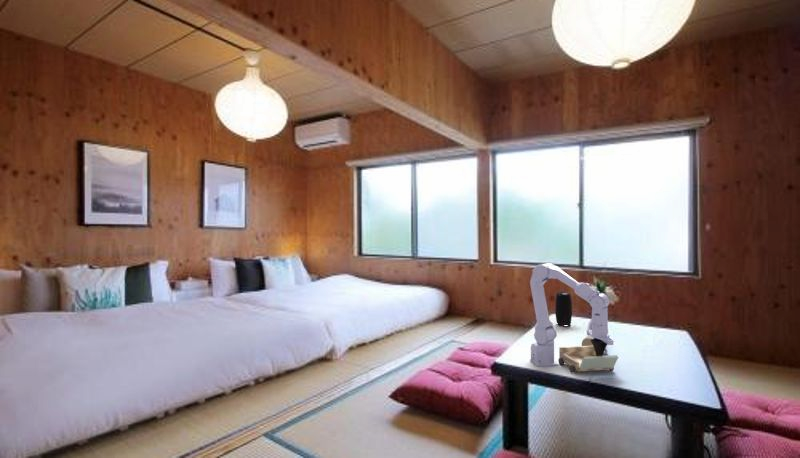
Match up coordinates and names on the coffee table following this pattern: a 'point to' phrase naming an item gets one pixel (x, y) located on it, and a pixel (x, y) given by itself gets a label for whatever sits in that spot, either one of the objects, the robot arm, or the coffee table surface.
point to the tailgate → (598, 362)
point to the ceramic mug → (588, 342)
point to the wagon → (577, 357)
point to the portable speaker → (563, 308)
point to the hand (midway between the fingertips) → (599, 357)
